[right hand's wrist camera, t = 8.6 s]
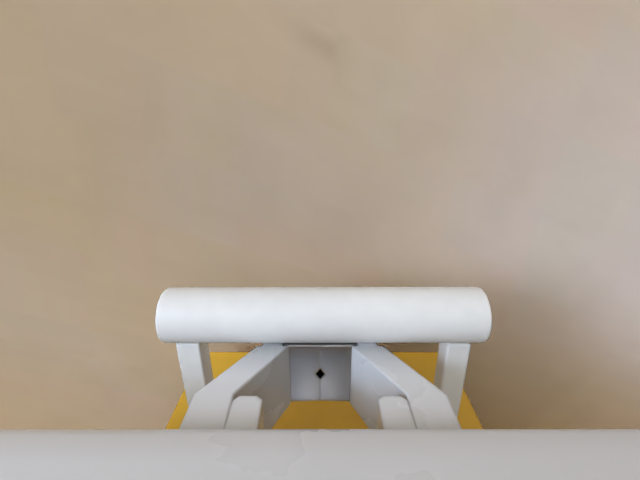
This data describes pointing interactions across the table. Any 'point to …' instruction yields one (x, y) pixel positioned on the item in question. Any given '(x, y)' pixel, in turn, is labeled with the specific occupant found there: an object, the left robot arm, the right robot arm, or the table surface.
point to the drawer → (326, 336)
